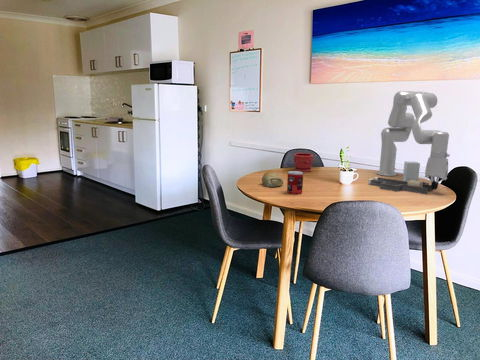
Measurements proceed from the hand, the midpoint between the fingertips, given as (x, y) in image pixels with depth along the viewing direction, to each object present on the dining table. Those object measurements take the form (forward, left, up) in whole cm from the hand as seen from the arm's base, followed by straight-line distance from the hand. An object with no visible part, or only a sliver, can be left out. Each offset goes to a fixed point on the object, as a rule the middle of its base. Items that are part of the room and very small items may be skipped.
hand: (434, 189), depth 200 cm
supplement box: (-19, -19, -2) cm, 27 cm away
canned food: (+55, -52, -2) cm, 76 cm away
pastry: (+49, -72, -3) cm, 87 cm away
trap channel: (0, -18, -2) cm, 18 cm away
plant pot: (-3, -86, -2) cm, 86 cm away
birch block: (0, -10, -2) cm, 10 cm away
